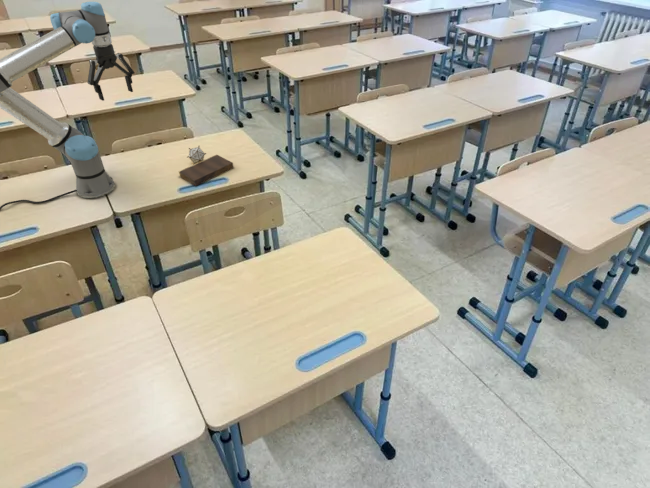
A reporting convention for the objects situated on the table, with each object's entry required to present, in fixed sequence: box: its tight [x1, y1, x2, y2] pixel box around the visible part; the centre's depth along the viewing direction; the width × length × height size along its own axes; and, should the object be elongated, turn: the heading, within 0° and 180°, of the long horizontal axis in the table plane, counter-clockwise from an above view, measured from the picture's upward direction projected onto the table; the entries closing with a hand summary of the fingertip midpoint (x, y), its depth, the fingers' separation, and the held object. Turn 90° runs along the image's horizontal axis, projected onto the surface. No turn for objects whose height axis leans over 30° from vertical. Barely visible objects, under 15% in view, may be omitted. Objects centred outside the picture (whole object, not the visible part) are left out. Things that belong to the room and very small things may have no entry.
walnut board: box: [178, 154, 234, 187], centre depth 212 cm, size 22×12×3 cm, turn 139°
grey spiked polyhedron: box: [186, 145, 207, 165], centre depth 217 cm, size 9×8×10 cm
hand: (116, 95), depth 199 cm, fingers open, 13 cm apart
